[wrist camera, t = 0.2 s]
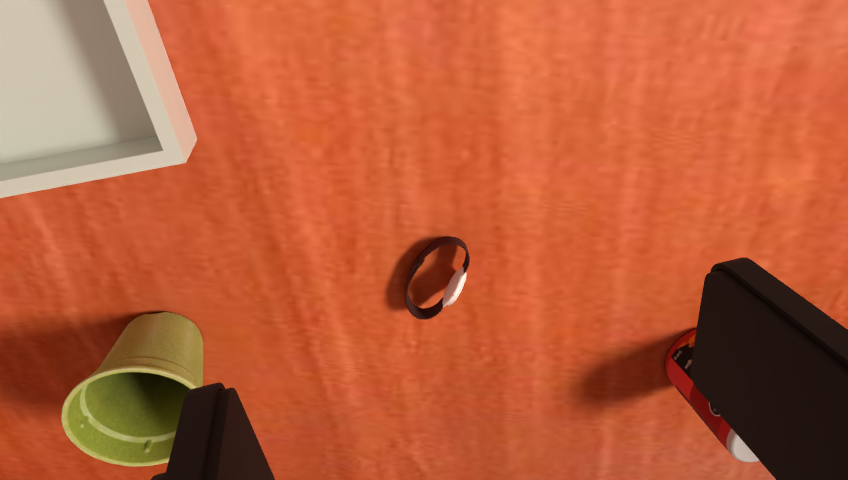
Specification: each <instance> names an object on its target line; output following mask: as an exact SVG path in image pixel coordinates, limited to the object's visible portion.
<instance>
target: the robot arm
mask: <svg viewBox="0 0 848 480" xmlns="http://www.w3.org/2000/svg"><path fill="white" fill-rule="evenodd" d="M690 375H691V378H692V381H693V383H694V385H695V387H696V388H697V389H698V390H699V391H700V393H701V394H702V395H703V396H704V397H705V398H706V400H707V401H708V402H709V403H710V404H711V405H712V406H713V408H714V409H715V410H716V411H717V412H718V413H719V414H720V416H721V417H722V418H723V419H724V420H725V421H726V422H727V424H728V425H729V426H730V427H731V428H732V429H733V430H734V432H735V433H736V434H737V435H738V436H739V437H740V439H741V440H742V441H743V442H744V443H745V444H746V445H747V447H748V448H749V449H750V450H751V451H752V452H753V453H754V455H755V456H756V457H757V458H758V459H759V460H760V461H761V463H762V464H763V465H764V466H765V467H766V468H767V469H768V471H769V472H770V473H771V474H772V475H773V476H774V477H775V479H776V480H848V330H847V329H846V328H844V327H843V326H842V325H840V324H839V323H837V322H836V321H835V320H833V319H832V318H831V317H829V316H828V315H826V314H825V313H824V312H822V311H821V310H819V309H818V308H817V307H815V306H814V305H813V304H811V303H810V302H808V301H807V300H806V299H804V298H803V297H802V296H800V295H799V294H797V293H796V292H795V291H793V290H792V289H791V288H789V287H788V286H786V285H785V284H784V283H782V282H781V281H780V280H778V279H777V278H775V277H774V276H773V275H771V274H770V273H768V272H767V271H766V270H764V269H763V268H762V267H760V266H759V265H757V264H756V263H755V262H753V261H752V260H750V259H748V258H738V259H734V260H730V261H726V262H722V263H718V264H715V265H714V266H713V267H712V269H711V272H710V273H708V274H707V275H706V277H705V281H704V287H703V293H702V299H701V305H700V312H699V318H698V324H697V330H696V336H695V342H694V349H693V355H692V361H691V367H690ZM151 480H275V479H274V476H273V474H272V472H271V469H270V467H269V465H268V462H267V460H266V458H265V456H264V453H263V451H262V449H261V446H260V444H259V442H258V440H257V437H256V435H255V433H254V431H253V428H252V426H251V424H250V421H249V419H248V417H247V415H246V412H245V410H244V408H243V405H242V403H241V401H240V399H239V396H238V394H237V392H236V390H235V389H234V388H229V389H225V387H224V385H223V384H222V383H215V384H211V385H207V386H202V387H198V388H194V389H190V390H188V391H187V392H186V394H185V397H184V401H183V405H182V409H181V413H180V417H179V421H178V426H177V430H176V434H175V438H174V442H173V446H172V450H171V454H170V458H169V462H168V466H167V470H166V472H165V473H161V474H158V475H155V476H153V478H152V479H151Z"/></svg>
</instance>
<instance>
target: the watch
mask: <svg viewBox="0 0 848 480" xmlns="http://www.w3.org/2000/svg"><path fill="white" fill-rule="evenodd" d="M449 244H455V245H458V246H461V247H462V248H464V249H465V251H466V257H465V261H464V263H463V266H462V268H460V269H458V270H457V271H456V272H455V274H454V275H453V276H452V278H451V280H450V282H449V284H448V286H447V288H446V290H445V293H444V297H443V298H442V299H441V300H440V301H439V302H438V303H437V304H436V305H434V306H432V307H430V308H425V309H422V308H419V307H417V306H415V305H414V304H413V303H412V302H411V300H410V298H409V295H408V287H409V284H410V281H411V279H412V278H413V276H414V274H415V273H416V271H417V270H418V268H419V267H420V266H421V265H422V263H423V262H424V258H425V257H426V256H427V255H429V254H430V253H431V252H432V251H434V250H435V249H437V248H438V247H441V246H443V245H449ZM468 266H469V253H468V250H467V247H466V245H465V243H464V242H463V241H462V240H460V239H458V238H456V237H443V238H440V239H437V240H436V241H434V242H433V243H431V244H430V245H429V246H428V247H427V248H426V249H425V250H424V251H423V252H422V253H421V254H420V255H419V256H418V257H417V259H416V261H415V262H414V263H413V265H412V267H411V268H410V275H409V277H408V281H407V285H406V294H405V300H406V305H407V308H408V310H409V312H410V313H411V314H412V315H413V316H415V317H416V318H418V319H430V318H432V317H434V316H436V315H437V314H438V313H439V312H440V311H441V310H442V309H443V308H444V306H445V305H451V304H452V303H453V302H454V301H455V300H456V299H457V297H458V296H459V294H460V292H461V290H462V288H463V285H464V283H465V280H466V270H467V268H468Z"/></svg>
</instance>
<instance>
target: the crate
mask: <svg viewBox="0 0 848 480" xmlns="http://www.w3.org/2000/svg"><path fill="white" fill-rule="evenodd" d="M196 141H197V137H196V134H195V131H194V128H193V125H192V123H191V120H190V117H189V114H188V112H187V109H186V106H185V103H184V100H183V98H182V95H181V92H180V89H179V87H178V84H177V81H176V78H175V75H174V73H173V70H172V67H171V64H170V61H169V59H168V56H167V53H166V50H165V48H164V45H163V42H162V39H161V36H160V34H159V31H158V28H157V25H156V23H155V20H154V17H153V14H152V11H151V9H150V6H149V3H148V0H0V198H3V197H8V196H13V195H19V194H24V193H29V192H35V191H40V190H45V189H50V188H56V187H61V186H66V185H71V184H77V183H82V182H87V181H92V180H98V179H103V178H108V177H114V176H119V175H124V174H129V173H135V172H140V171H145V170H150V169H156V168H161V167H166V166H171V165H177V164H182V163H186V162H187V159H188V157H189V155H190V153H191V151H192V149H193V147H194V145H195V143H196Z"/></svg>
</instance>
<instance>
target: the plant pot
mask: <svg viewBox="0 0 848 480" xmlns="http://www.w3.org/2000/svg"><path fill="white" fill-rule="evenodd" d="M202 386H203V340H202V337H201V334H200V331H199V329H198V328H197V326H196V325H195V324H194V323H193V322H191V321H190V320H189V319H187V318H185V317H183V316H181V315H178V314H175V313H170V312H162V313H156V314H143V315H141V316H139V317H137V318H135V319H134V320H132V321H131V322H130V323H129V324H128V325H127V326H126V328H125V329H124V331H123V332H122V334H121V335H120V336H119V338H118V339H117V341H116V342H115V344H114V345H113V347H112V348H111V350H110V351H109V353H108V354H107V356H106V357H105V359H104V360H103V362H102V363H101V365H100V366H99V367H98V369H97V370H96V371H94V372H93V373H92V374H91V375H90V376H89V377H87V378H86V379H84V380H83V381H81V382H80V383H79V384H77V385H76V386H75V387H74V388H73V390H72V391H71V392H70V393H69V395H68V396H67V398H66V400H65V402H64V404H63V408H62V415H61V420H62V425H63V428H64V431H65V433H66V435H67V436H68V437H69V439H70V440H71V441H72V442H73V443H74V444H75V445H76V446H77V447H78V448H79V449H81V450H82V451H83V452H85V453H86V454H88V455H90V456H92V457H94V458H97V459H100V460H102V461H105V462H108V463H112V464H120V465H124V466H152V465H157V464H162V463H166V462H169V458H170V454H171V450H172V446H173V442H174V438H175V434H176V430H177V426H178V421H179V417H180V413H181V409H182V405H183V401H184V397H185V394H186V392H187V391H188V390H190V389H194V388H198V387H202Z"/></svg>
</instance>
